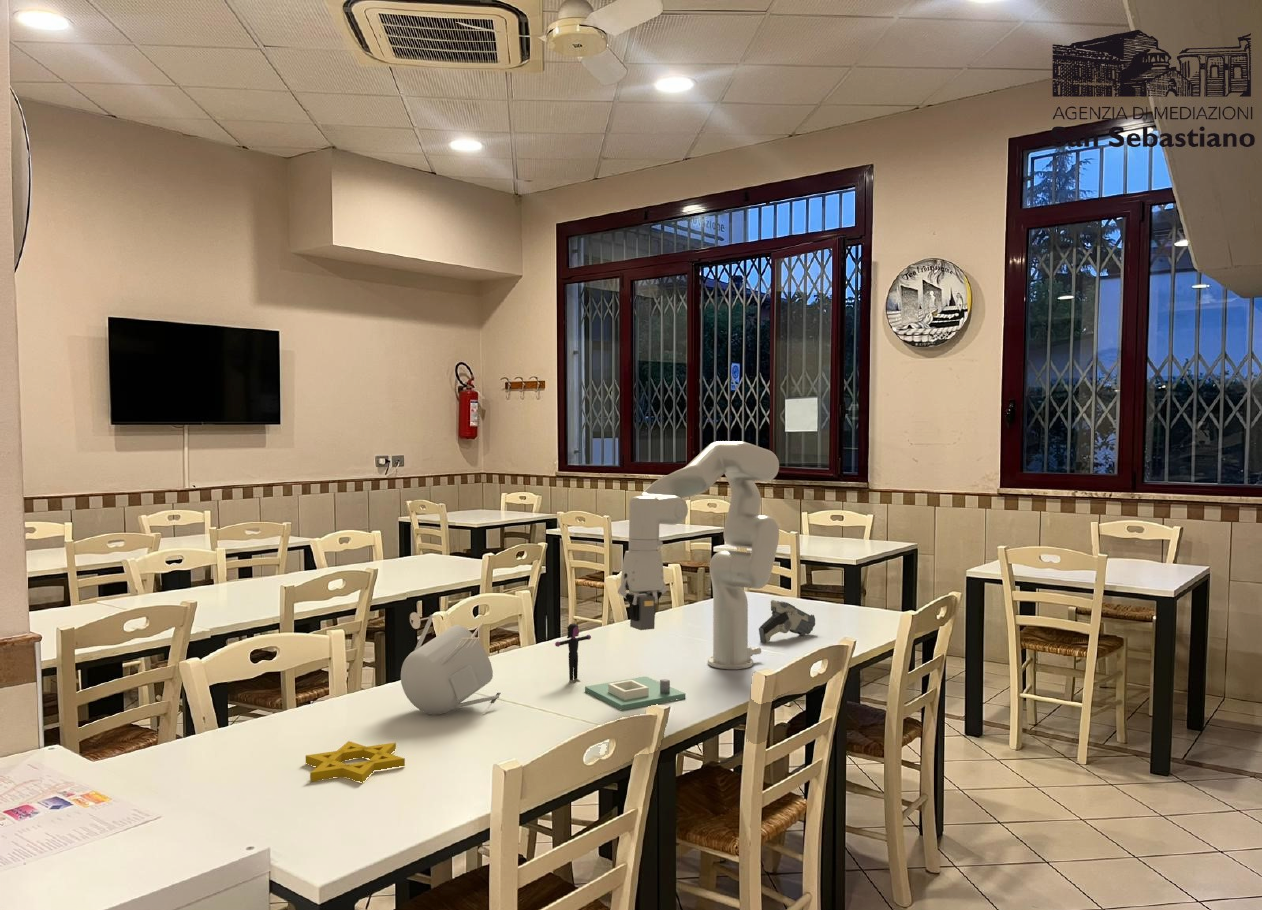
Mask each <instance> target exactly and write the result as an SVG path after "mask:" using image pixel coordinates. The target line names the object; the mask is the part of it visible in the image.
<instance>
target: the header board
mask: <svg viewBox="0 0 1262 910" xmlns="http://www.w3.org/2000/svg"><path fill="white" fill-rule="evenodd" d="M584 692H585V693H588V694H589V695H591V696H593V697H595V698H597V699H599V700H601V701H603V702H605V703H607V704H609V705H610V706H613V707H614V708H616V709H619V710H620V711H625V710H630V709H636V708H640V707H641V708H642V707H646V706H652V705H651V704H653V705H657V704H663V703H667V702H668V701H669V702H672V701H671V700H674V701H677V700H676V699H679V700H685V699H686V693H685V692H683V691H682V690H679V689H676V688H674V687H672V686H671V680H670V679H666V678H664V679H660V681H657V680H655V679H653V678H651V677H649V676H640V677H633V678H629V679H622V680H615V681H610V682H603V683H597V684H592V685H587V686H584ZM684 698H685V699H684Z"/></svg>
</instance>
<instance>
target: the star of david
mask: <svg viewBox="0 0 1262 910" xmlns="http://www.w3.org/2000/svg"><path fill="white" fill-rule="evenodd" d="M395 749H396V750H397V742H391V743H382V744H376V745H369V746H365V745H363V744H359V743H356V742H352V741H349V740H348V741H347V742H346V743H344V744H343V745H342V746H341V747H340V748H338V749H337V750H334V751H328V752H319V753H314V754H306V755H305V764H306V763H307V764H309V765H312V766H316V767H317V768H314V769H313V770H312V771H310V773H309V776H310V777H309V778H310V780H309V782H310V781H316V782H319V781H318V780H322V779H329V778H333V777H342V778H343V777H347V778H350V779H353V780H355V781H360V782H362V783H363V781H365V780H366V778H367V777H369V775H370V774H371V773H373V771H374V770H381V769H387V768H392V767H399V766H405V767H406V763H405V762H406V759H405V758H404V757H401V756H398V755H395V754H391V753H392V752H393V751H395ZM362 757H364V758H369V759H370V760H365V761H361V762H354V763H348V764H347V763H344V762H346V761H345V760H349V759H353V758H362ZM342 761H344V762H342ZM341 762H342V763H341ZM307 764H306V765H307ZM309 765H308V766H309ZM312 766H311V767H312ZM373 774H374V773H373ZM369 778H370V777H369ZM329 780H330V779H329ZM322 781H323V780H322ZM355 781H354V782H355ZM366 781H367V780H366ZM366 781H365V782H366ZM363 784H364V783H363Z"/></svg>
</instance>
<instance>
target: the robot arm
mask: <svg viewBox="0 0 1262 910" xmlns="http://www.w3.org/2000/svg"><path fill="white" fill-rule="evenodd" d="M779 470H780V462H779V459H778V457H777V456H776V454H775V453H774V452H773V451H771V450H770V449H767V448H763V447H760V446H759V445H755V444H752V443H749V442H746V441H740V440H739V441H738V440H737V441H735V440H732V441H729V440H728V441H727V440H725V441H724V440H722V441H721V440H720V441H719V440H718V441H713V442H711V443H710V444H708V445H707V446H706V447H705V448H704V449H703V450H701V451H700V452H699V454H698V455H697V456H695V457H694V458H693V459H692V460H691V461H690V462H689V463H688V464H686V466H685V467H683V468H680V469H678V470H675V471H673V472H671V473H669V474H667V475H665V476H663V477H660V478H659V479H657V480H655V481H654V482H652V483H651V484H650V485H649V486H648V487H647V488H645V489H644V490H643V491H642V492H641V493H640V495H636V496H633V497H631V498H630V500H629V514H628V515H629V517H628V518H629V519H628V521H629V522H628V550H625V553H624V557H623V561H622V568H621V569H622V570H621V580H620V586H619V588H618V590H617V594H618V595H620V596H621V597H622V598H624V600H625V601H627V603H628V604H629V616H628V617H629V619H631V620H634V621H638V620H639V605H637V601H638V595H639V594H640V593H646V594H648V595H651V596H655V615H656V611H657V610H656V608H657V605H656V604H658V602H659V600H660V599H661V597H662V596H663V594H665V593H666V592H667V591H668V590H669V589H668V587H667V585H666V583H665V581H664V563H663V557H662V553H661V551H660V547H662V546H663V544H664V542H663V541H662V540H661V539H660V525H668V526H674V525H675V526H676V525H679V524H680V523H682V522H684V520H685V519H686V517H687V516H688V513H689V508H688V504H687V502H686V501H685V500H684V498H690V497H694V496H698V495H701V494H705V493H706V492H707V491H708V490H709V489H710V488H711V487H712V486H713V485H714V484H715V483H716V482H717V481H718V480H720V478H722V476H723V475H725V478H726V480H727V482H728V484H729V488H730V494H731V495H730V497H731V498H730V502H729V507H728V511H727V515H726V519H725V524H724V529H723V540H724V542H725V544H727V545H729V546H731V547H733V548H734V547H735V548H740V549H741V548H742V549H750V550H751V552H746V551H741V550H740V551H739V550H726V549H725V550H720V551H717V552H716V553H714V555H712V557H711V559H710V561H709V574H710V575H709V576H710V580H711V586H712V597H713V598H712V601H713V603H712V604H713V605H712V606H713V608H712V610H713V613H712V614H713V615H712V618H713V620H712V621H713V622H712V624H713V625H712V626H713V627H712V635H713V636H712V640H713V641H712V647H713V648H712V653H713V654H712V656H709V657H708V658H707V664H708V666H710V667H713V668H716V669H724V670H742V669H748V668H750V667H752V666H753V665H754V660H753V659H752V657H753V656H754V655H756V656H757V655H760V654H762V648H761V647H759V646H757V647H753V648H752V647H751V646H748V645H749V643H748V637H749V636H748V635H749V634H748V633H749V632H748V630H749V629H748V627H749V623H748V621H749V620H748V619H749V617H748V615H749V614H748V613H749V612H748V611H749V609H748V608H749V607H748V606H749V604H748V603H749V602H748V597H747V594H746V591H745V589H744V588H748V589H754V590H758V589H762V588H764V587H766V586H767V584H768V583H769V580H770V579H771V576H772V573H773V568H774V564H775V558H776V554H777V551H778V546H779V540H780V530H779V529H780V528H779V526H778V523H777V521H776V520H775V519H774V517H771V516H769V515H763V514H760V510H761V505H762V496H761V492H760V491H759V488H758V486H757V484H756V483H755V482H754V481H756V482H759V481H760V482H769V481H772V480H773V479H775V478H776V477H777V475H778V472H779ZM627 591H628V592H627Z"/></svg>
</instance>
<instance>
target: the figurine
mask: <svg viewBox="0 0 1262 910" xmlns="http://www.w3.org/2000/svg"><path fill="white" fill-rule="evenodd" d="M579 629H580V628H579V625H578V624H577V623H575V622H574V623H573V622H571V623H570V624H569V625H568V626H567V636H566V638H567V639H566V640H562V641H555V643H554V645H555V647H560V646H564V645H568V670H569V671H568V673H569V682H570V683H574V684H575V683H576V682H581V680H580V679H579V678H578V669H579V653H578V651H579V642H582V641H587V640H591V639H592V636H591V635H590V634H587V635H585V636H581V637H580V636H579V634H580V630H579Z"/></svg>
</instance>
